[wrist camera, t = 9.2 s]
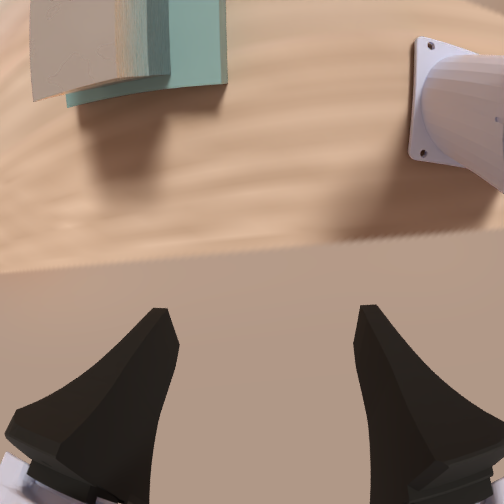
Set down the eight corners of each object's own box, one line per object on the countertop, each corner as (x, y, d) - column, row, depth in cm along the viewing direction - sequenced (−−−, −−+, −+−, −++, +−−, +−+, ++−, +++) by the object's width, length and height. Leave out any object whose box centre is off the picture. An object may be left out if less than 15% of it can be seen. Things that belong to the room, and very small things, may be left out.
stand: (224, -59, 11) (218, -71, 9) (227, 83, 16) (221, 83, 14) (81, -23, 12) (64, -27, 10) (84, 103, 17) (67, 107, 15)
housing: (171, 74, 14) (117, 77, 9) (100, 87, 15) (33, 102, 10) (169, -48, 10) (120, -88, 5) (99, -28, 10) (36, -48, 5)
